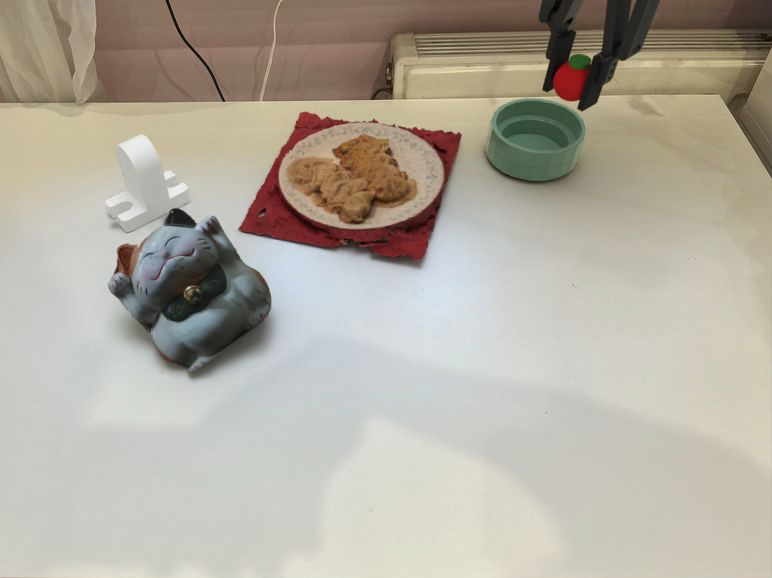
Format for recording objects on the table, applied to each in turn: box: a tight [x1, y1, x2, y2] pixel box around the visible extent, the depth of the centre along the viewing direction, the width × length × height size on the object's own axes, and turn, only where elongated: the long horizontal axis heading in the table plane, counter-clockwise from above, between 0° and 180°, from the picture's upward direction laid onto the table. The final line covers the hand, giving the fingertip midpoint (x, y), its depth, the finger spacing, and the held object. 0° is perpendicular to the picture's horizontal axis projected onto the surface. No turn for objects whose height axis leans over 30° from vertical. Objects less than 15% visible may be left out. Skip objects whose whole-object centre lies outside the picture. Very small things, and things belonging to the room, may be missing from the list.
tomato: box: [553, 53, 592, 102], centre depth 79 cm, size 5×5×5 cm
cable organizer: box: [105, 133, 191, 233], centre depth 87 cm, size 5×10×10 cm, turn 128°
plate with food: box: [237, 111, 463, 261], centre depth 91 cm, size 24×26×4 cm
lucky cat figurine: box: [107, 207, 273, 373], centre depth 74 cm, size 15×12×14 cm
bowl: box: [485, 97, 588, 182], centre depth 93 cm, size 12×12×5 cm
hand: (569, 95), depth 81 cm, fingers closed on tomato, 4 cm apart
